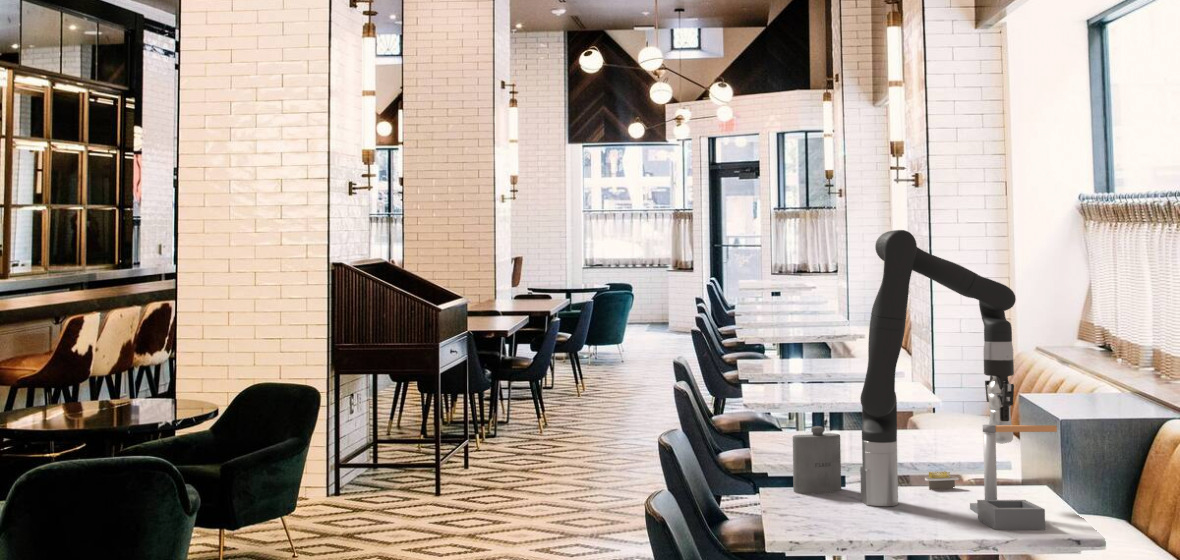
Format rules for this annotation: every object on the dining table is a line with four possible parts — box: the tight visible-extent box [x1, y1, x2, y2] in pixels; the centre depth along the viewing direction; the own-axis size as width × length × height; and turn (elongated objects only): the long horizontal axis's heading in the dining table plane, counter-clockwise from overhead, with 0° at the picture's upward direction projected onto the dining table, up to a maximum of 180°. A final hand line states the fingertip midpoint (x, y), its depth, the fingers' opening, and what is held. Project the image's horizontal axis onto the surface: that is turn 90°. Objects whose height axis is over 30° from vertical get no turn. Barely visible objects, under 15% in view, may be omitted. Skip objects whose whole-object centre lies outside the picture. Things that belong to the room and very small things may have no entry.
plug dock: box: [969, 432, 1046, 531], centre depth 234 cm, size 12×22×21 cm, turn 178°
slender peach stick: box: [982, 424, 1058, 433], centre depth 240 cm, size 19×3×2 cm, turn 87°
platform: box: [924, 470, 960, 491], centre depth 268 cm, size 12×18×7 cm, turn 98°
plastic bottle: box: [987, 376, 1014, 445], centre depth 251 cm, size 6×7×20 cm
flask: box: [792, 425, 842, 495], centre depth 266 cm, size 15×6×20 cm, turn 107°
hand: (999, 419), depth 251 cm, fingers closed on plastic bottle, 5 cm apart
